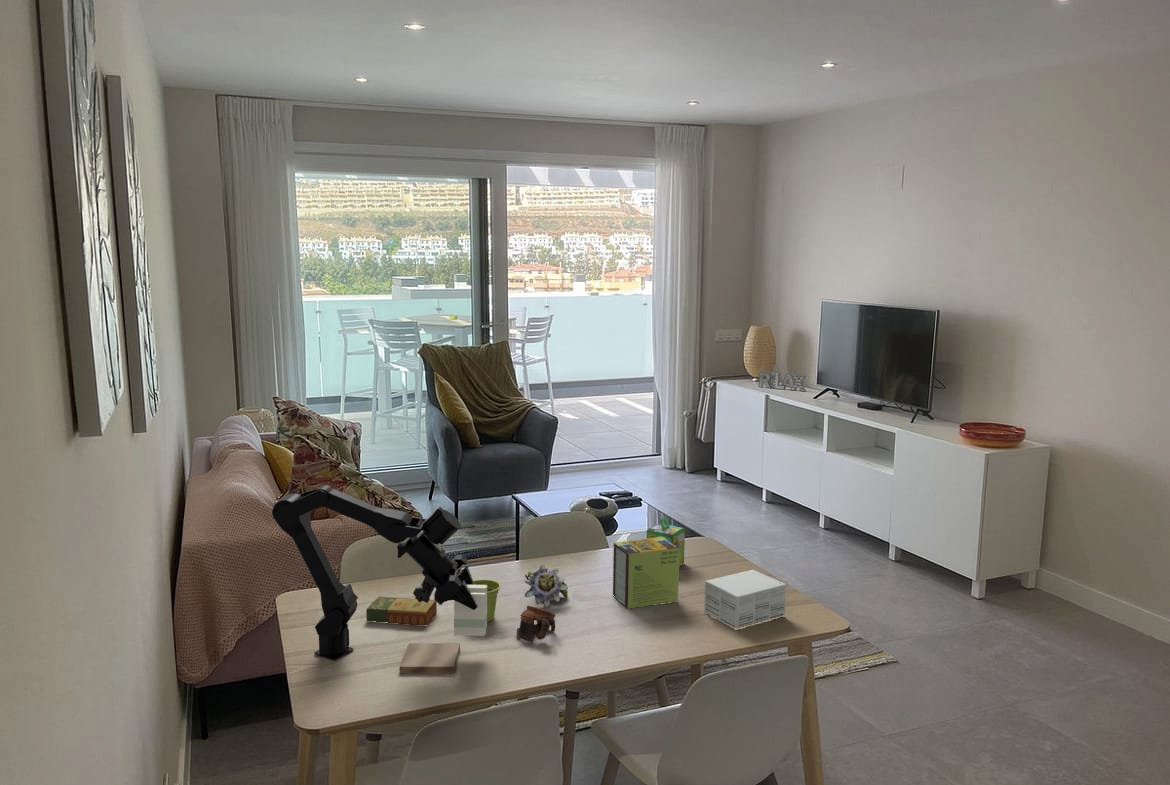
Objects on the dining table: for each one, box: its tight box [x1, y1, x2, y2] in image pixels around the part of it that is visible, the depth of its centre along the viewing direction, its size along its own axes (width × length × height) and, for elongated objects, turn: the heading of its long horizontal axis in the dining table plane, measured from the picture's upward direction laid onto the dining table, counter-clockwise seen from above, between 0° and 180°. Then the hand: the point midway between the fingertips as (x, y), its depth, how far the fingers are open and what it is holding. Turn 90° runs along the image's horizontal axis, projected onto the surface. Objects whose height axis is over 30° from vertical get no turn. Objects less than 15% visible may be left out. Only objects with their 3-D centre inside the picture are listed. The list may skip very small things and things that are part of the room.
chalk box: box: [646, 515, 686, 567], centre depth 263 cm, size 9×9×15 cm
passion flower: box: [524, 563, 569, 608], centre depth 234 cm, size 11×11×12 cm
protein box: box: [612, 537, 680, 610], centre depth 236 cm, size 10×15×16 cm
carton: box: [365, 596, 438, 626], centre depth 222 cm, size 8×16×4 cm, turn 82°
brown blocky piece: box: [515, 605, 556, 643], centre depth 212 cm, size 12×10×8 cm
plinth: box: [399, 642, 461, 674], centre depth 198 cm, size 12×12×2 cm
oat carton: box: [453, 585, 488, 637], centre depth 200 cm, size 7×6×11 cm
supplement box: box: [703, 569, 787, 628], centre depth 226 cm, size 17×13×9 cm
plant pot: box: [473, 579, 501, 622], centre depth 222 cm, size 9×9×9 cm
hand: (476, 603), depth 200 cm, fingers closed on oat carton, 5 cm apart
